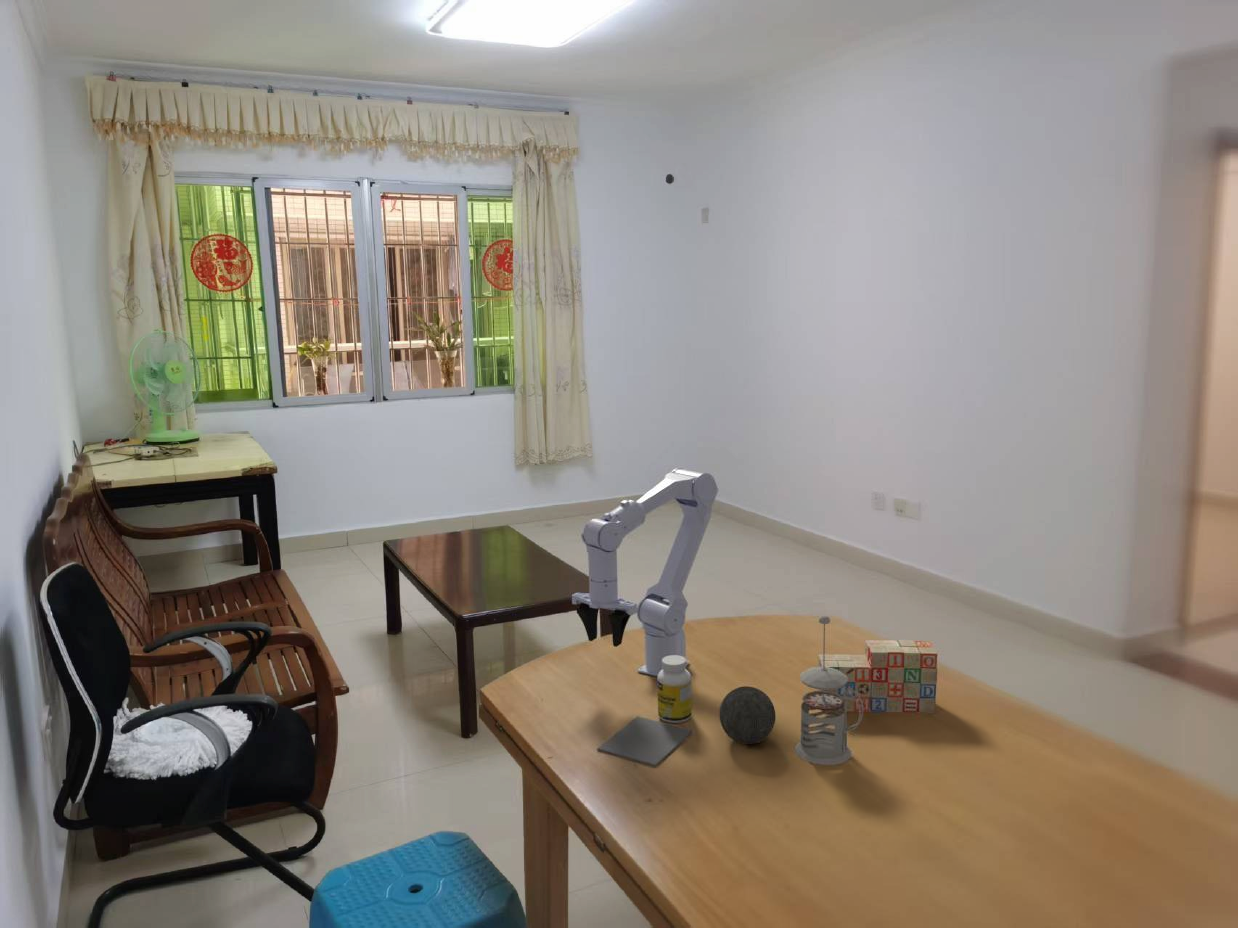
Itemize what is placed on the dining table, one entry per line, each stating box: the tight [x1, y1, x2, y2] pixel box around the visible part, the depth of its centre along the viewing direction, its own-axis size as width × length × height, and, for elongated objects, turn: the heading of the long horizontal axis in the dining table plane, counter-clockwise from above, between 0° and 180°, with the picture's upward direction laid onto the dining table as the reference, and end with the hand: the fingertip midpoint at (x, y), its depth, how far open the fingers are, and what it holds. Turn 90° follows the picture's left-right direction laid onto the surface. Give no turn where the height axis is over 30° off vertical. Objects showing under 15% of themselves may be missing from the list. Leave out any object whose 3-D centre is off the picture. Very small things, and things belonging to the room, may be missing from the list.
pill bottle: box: [656, 655, 693, 724], centre depth 170 cm, size 6×6×12 cm
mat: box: [596, 715, 694, 768], centre depth 162 cm, size 14×12×1 cm
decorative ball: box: [718, 685, 777, 745], centre depth 160 cm, size 10×10×10 cm
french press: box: [794, 614, 864, 766], centre depth 154 cm, size 10×12×25 cm
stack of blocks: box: [817, 639, 938, 714], centre depth 172 cm, size 21×6×12 cm, turn 84°
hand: (605, 642), depth 182 cm, fingers open, 5 cm apart
